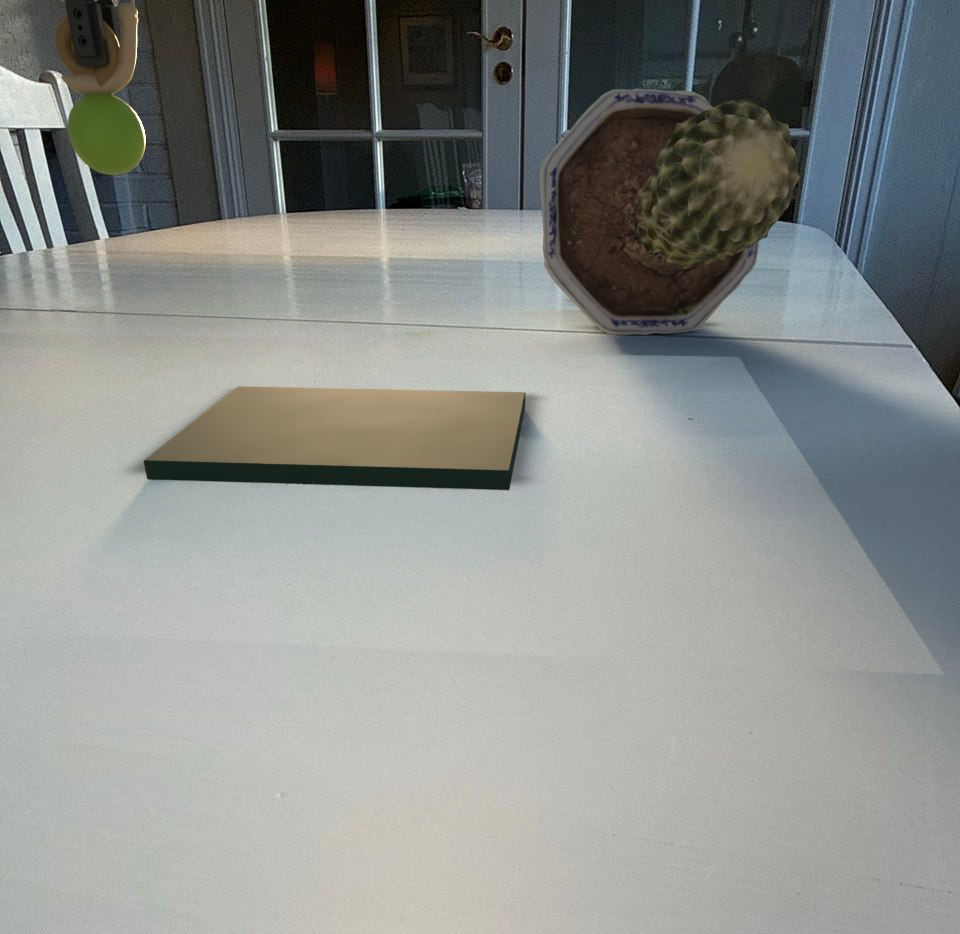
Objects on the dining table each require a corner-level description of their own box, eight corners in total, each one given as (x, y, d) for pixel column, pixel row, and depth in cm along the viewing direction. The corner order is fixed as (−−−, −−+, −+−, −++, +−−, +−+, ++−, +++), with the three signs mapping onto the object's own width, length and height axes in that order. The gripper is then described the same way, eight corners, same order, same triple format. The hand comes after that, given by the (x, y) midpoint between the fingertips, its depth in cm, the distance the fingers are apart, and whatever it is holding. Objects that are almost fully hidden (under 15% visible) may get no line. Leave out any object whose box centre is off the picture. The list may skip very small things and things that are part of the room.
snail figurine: (155, 177, 67) (122, -21, 61) (66, 177, 67) (25, -23, 60) (171, 172, 72) (143, -12, 66) (89, 172, 71) (52, -14, 65)
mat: (146, 479, 44) (142, 460, 44) (239, 402, 56) (237, 386, 56) (509, 490, 43) (509, 470, 42) (525, 408, 55) (525, 391, 54)
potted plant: (510, 129, 78) (614, -15, 50) (705, 138, 81) (909, 7, 53) (508, 340, 83) (601, 319, 55) (692, 342, 86) (871, 323, 58)
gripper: (42, -221, 63) (95, 71, 72) (-81, -299, 51) (0, 62, 60) (146, -224, 62) (186, 71, 71) (45, -303, 51) (108, 62, 59)
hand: (101, 66), depth 66 cm, fingers closed on snail figurine
